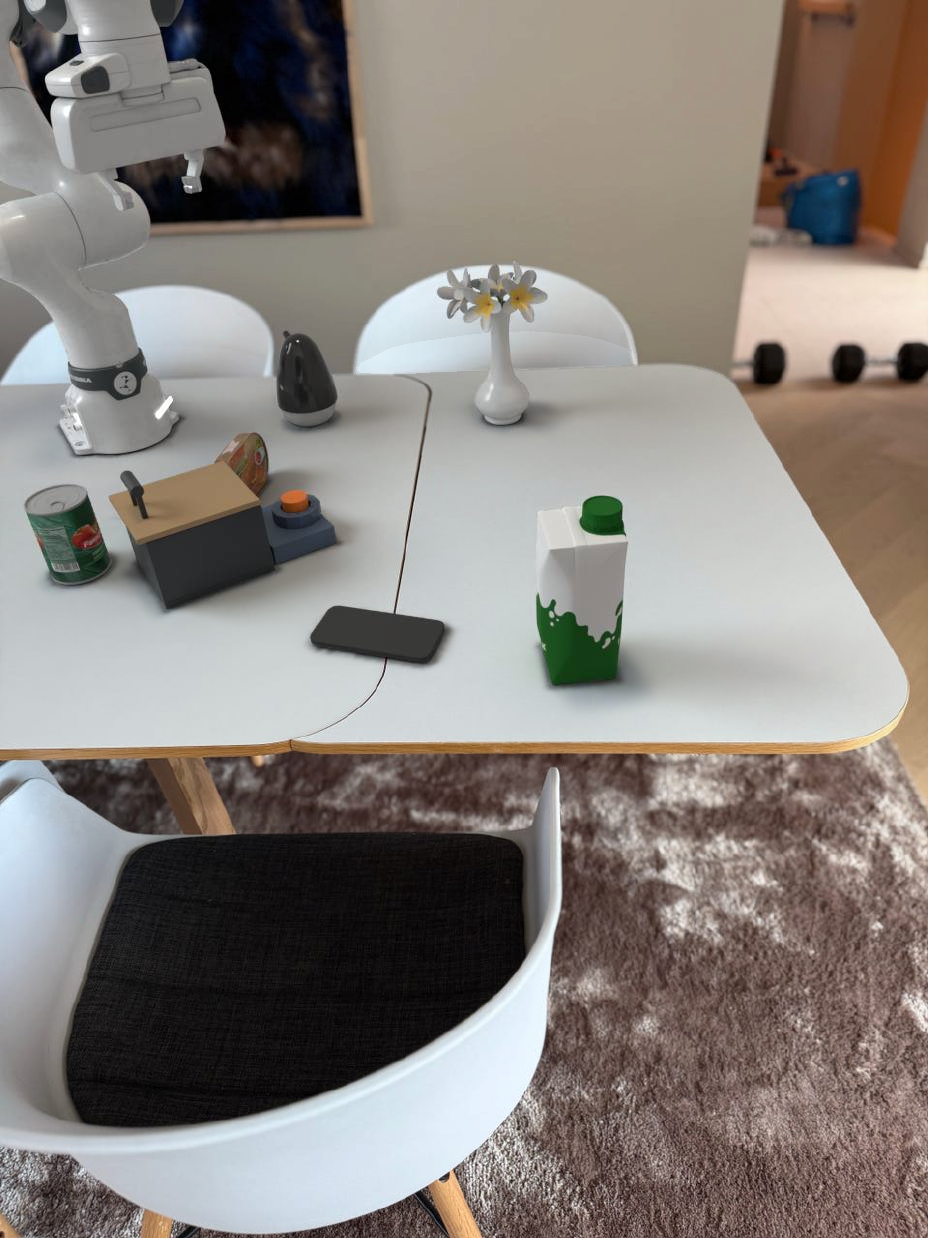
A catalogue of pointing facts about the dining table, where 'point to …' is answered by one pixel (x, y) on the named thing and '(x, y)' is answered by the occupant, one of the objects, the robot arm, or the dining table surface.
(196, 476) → the lid
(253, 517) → the dark grey bin
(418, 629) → the phone
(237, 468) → the tin
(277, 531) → the panel
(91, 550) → the canned tomato
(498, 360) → the flower vase
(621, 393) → the dining table surface
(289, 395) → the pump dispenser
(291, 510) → the release button
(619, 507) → the milk carton
